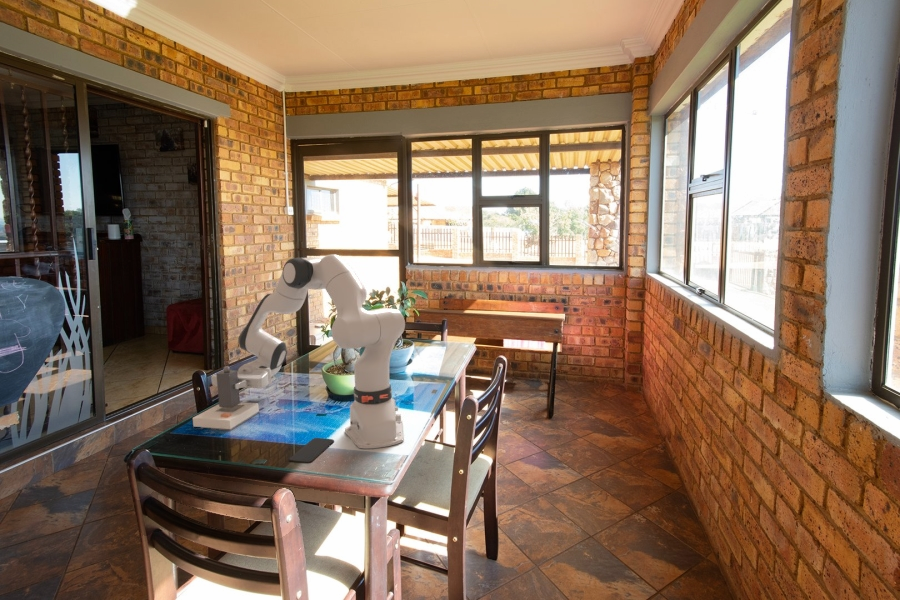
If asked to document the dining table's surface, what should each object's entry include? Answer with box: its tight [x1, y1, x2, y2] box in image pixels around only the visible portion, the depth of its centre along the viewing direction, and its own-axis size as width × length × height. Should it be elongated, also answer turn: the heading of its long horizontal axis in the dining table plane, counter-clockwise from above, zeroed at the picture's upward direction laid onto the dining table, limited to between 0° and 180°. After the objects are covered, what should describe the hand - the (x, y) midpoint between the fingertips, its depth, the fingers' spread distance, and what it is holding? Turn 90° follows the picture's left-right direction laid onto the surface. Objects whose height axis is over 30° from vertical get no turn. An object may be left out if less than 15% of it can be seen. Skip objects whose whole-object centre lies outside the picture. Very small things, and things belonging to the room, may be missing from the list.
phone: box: [288, 437, 335, 464], centre depth 148 cm, size 7×1×15 cm
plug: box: [215, 365, 241, 408], centre depth 173 cm, size 4×5×14 cm
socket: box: [192, 401, 260, 432], centre depth 173 cm, size 16×14×4 cm
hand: (226, 386), depth 173 cm, fingers closed on plug, 5 cm apart
